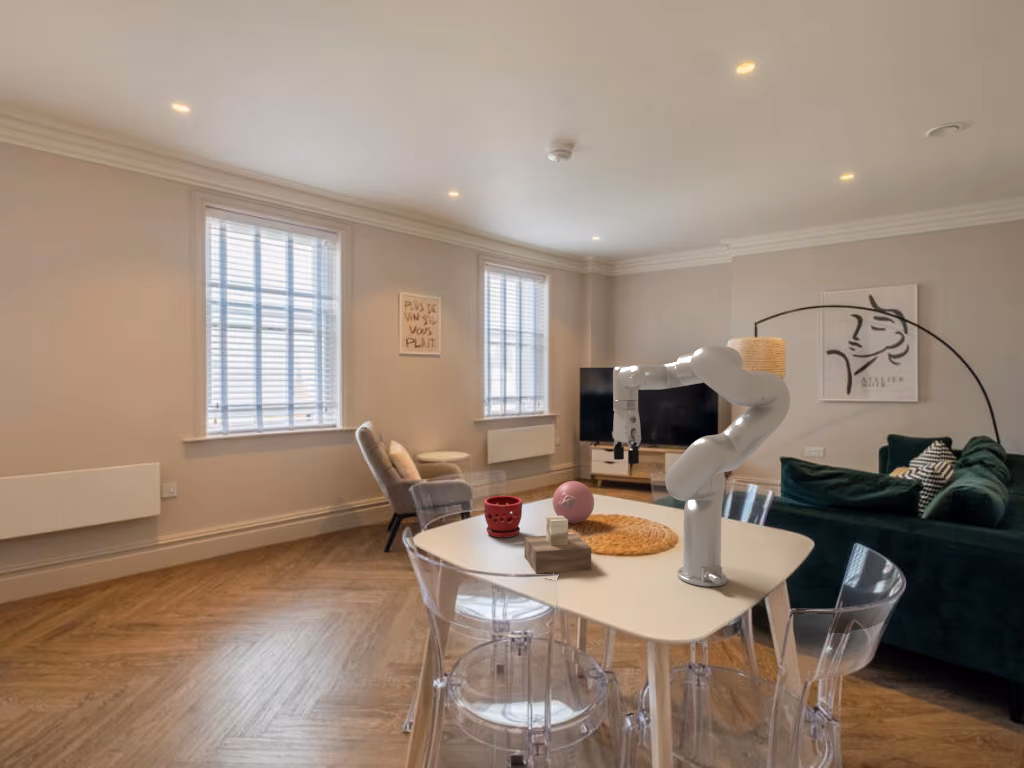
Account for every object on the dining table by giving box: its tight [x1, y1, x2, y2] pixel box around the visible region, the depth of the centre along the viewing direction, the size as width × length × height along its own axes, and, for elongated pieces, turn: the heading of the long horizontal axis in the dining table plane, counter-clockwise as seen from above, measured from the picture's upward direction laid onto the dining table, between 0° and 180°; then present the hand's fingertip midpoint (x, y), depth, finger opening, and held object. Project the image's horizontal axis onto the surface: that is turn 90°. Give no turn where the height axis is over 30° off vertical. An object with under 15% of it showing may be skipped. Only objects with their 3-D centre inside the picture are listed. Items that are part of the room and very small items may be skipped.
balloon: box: [552, 480, 595, 524], centre depth 197 cm, size 15×20×15 cm
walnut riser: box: [523, 533, 592, 574], centre depth 155 cm, size 14×16×6 cm
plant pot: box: [483, 495, 523, 538], centre depth 184 cm, size 13×13×12 cm
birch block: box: [545, 515, 569, 545], centre depth 155 cm, size 5×5×7 cm
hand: (626, 461), depth 165 cm, fingers open, 9 cm apart
